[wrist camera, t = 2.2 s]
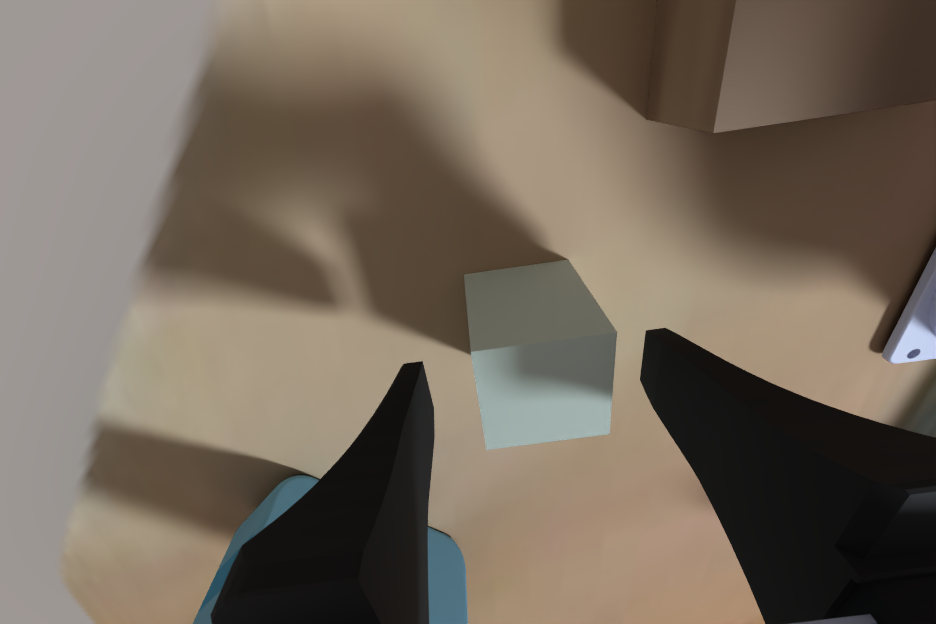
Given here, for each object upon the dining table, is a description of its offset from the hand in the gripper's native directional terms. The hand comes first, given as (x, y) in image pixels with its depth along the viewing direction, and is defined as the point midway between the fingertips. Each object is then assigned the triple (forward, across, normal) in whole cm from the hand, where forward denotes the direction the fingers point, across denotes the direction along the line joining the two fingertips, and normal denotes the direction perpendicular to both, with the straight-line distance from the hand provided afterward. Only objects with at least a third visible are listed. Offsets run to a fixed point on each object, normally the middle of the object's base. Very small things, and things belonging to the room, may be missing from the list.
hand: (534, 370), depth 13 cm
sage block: (+4, 0, 0) cm, 4 cm away
